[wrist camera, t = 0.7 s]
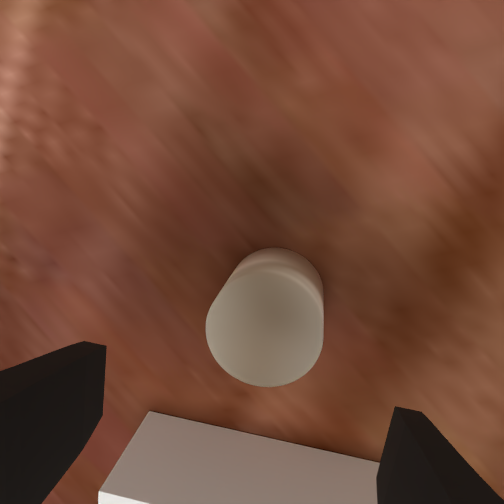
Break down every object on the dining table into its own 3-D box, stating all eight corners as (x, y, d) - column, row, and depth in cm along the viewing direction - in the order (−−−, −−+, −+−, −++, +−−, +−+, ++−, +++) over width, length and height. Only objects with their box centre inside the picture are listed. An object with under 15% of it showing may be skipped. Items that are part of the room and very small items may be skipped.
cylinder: (331, 256, 18) (333, 289, 14) (314, 345, 19) (311, 397, 15) (235, 239, 19) (212, 267, 15) (223, 327, 20) (199, 373, 16)
